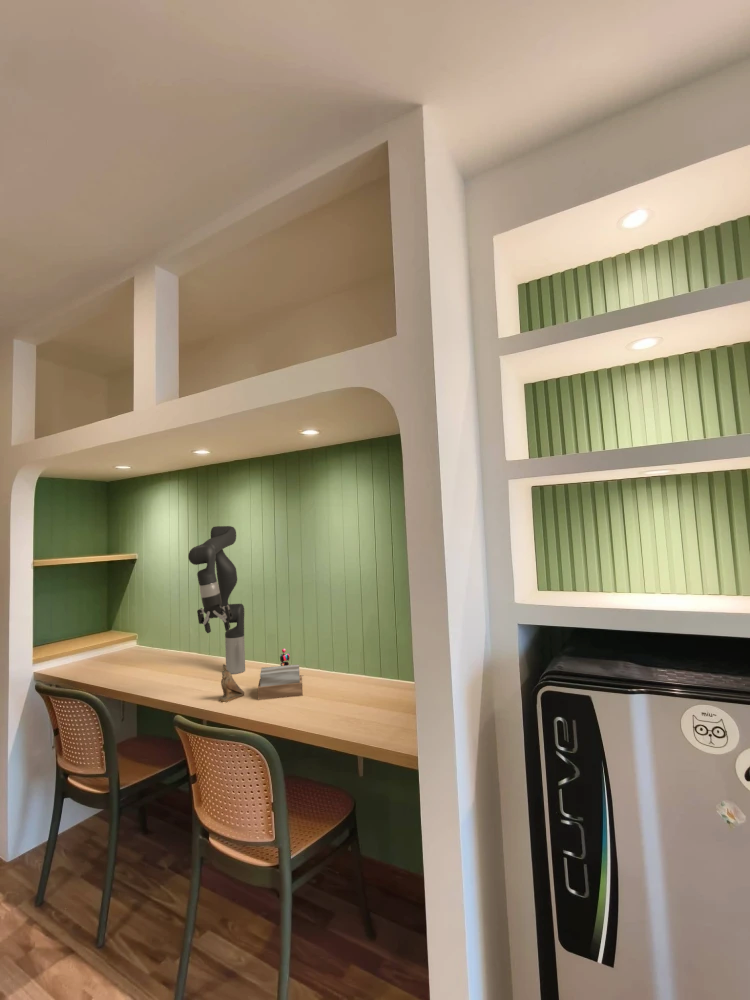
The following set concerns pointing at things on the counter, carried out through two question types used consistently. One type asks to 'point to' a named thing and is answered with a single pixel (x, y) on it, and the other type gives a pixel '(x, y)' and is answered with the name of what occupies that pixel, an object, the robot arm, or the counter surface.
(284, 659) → the statue
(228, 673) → the brown carved statuette
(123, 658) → the counter surface
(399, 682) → the counter surface
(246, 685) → the counter surface
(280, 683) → the grey and brown block
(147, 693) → the counter surface
